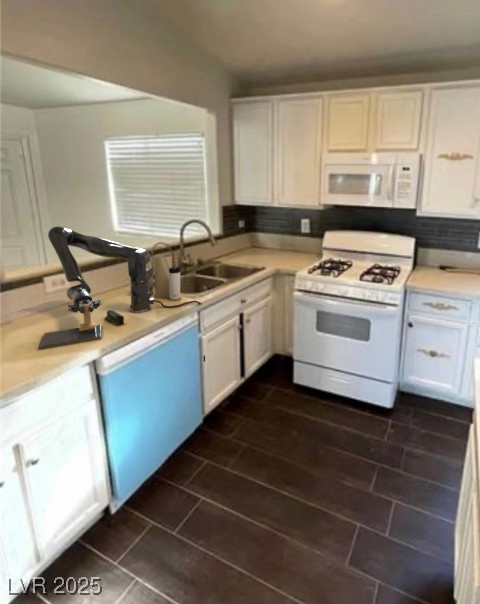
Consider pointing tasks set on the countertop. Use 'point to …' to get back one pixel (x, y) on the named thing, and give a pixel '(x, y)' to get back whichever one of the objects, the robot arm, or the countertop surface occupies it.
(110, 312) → the dark green rounded bar
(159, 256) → the tall beige box
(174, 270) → the travel mug
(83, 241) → the robot arm
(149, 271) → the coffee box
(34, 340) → the countertop surface
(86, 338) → the slate board
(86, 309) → the brush
